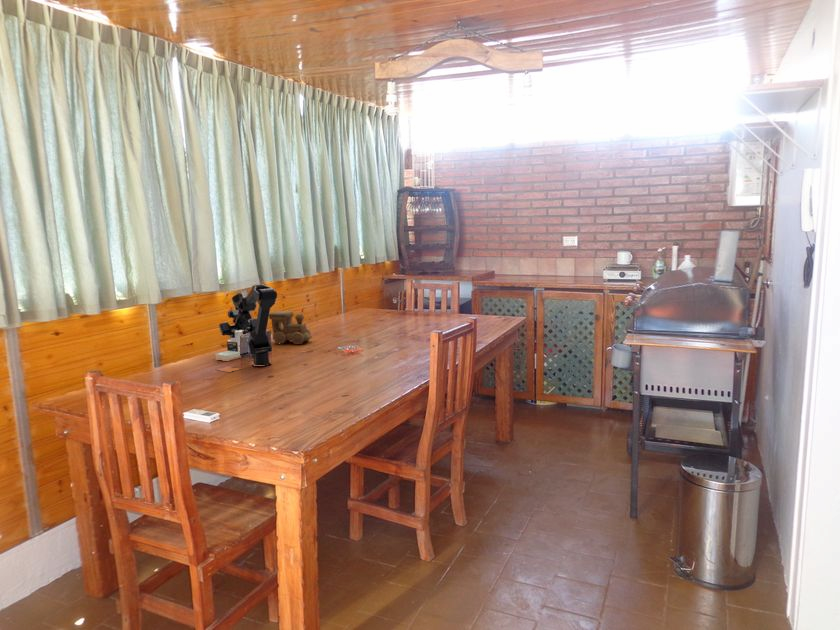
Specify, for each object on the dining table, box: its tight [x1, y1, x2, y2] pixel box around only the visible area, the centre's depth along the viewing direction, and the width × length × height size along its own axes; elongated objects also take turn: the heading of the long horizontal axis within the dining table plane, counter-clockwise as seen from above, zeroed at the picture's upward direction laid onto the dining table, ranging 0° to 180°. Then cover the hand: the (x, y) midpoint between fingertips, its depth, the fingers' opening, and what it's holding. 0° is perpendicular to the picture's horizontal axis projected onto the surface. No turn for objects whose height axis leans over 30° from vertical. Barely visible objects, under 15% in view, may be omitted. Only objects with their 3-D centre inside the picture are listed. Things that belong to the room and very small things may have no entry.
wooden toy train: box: [268, 310, 313, 345], centre depth 315 cm, size 20×11×17 cm, turn 77°
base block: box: [214, 350, 241, 359], centre depth 283 cm, size 8×8×3 cm
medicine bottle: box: [226, 330, 244, 352], centre depth 293 cm, size 7×7×12 cm
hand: (236, 336), depth 293 cm, fingers closed on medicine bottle, 6 cm apart
